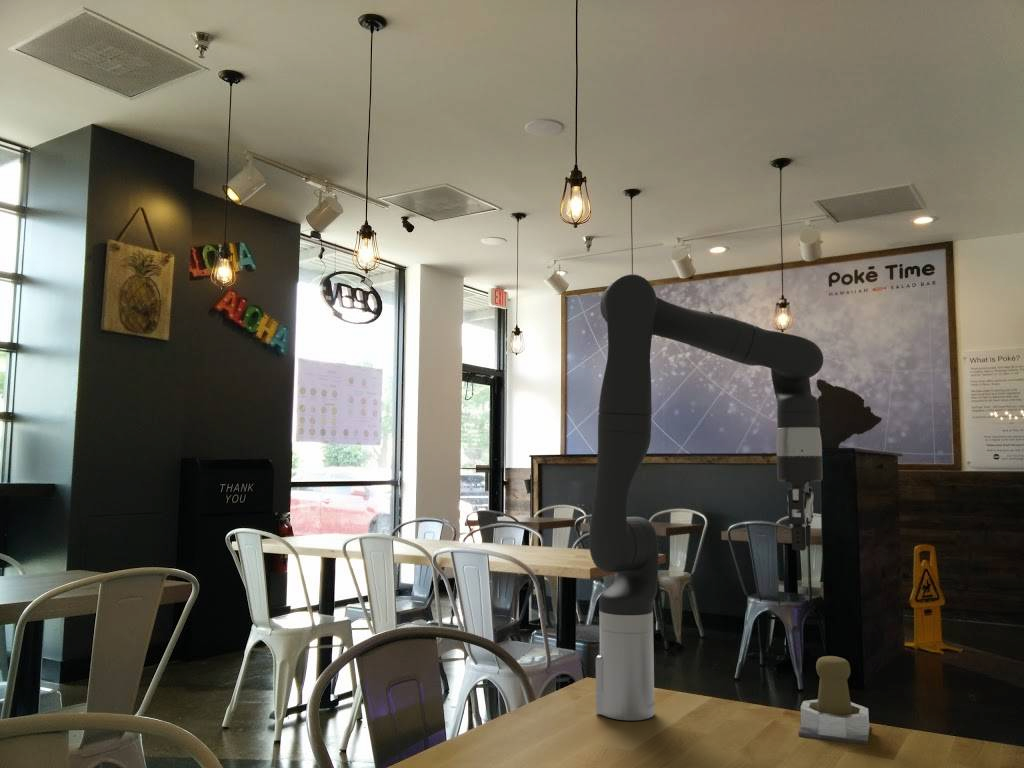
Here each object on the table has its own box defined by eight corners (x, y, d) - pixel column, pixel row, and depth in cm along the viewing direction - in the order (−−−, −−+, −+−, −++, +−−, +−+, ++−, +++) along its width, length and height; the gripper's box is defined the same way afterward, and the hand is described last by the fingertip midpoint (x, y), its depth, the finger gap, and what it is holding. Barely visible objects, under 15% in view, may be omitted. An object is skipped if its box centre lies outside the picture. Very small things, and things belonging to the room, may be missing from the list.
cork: (842, 721, 139) (840, 652, 140) (863, 732, 133) (860, 660, 134) (808, 722, 138) (805, 653, 139) (827, 734, 132) (824, 662, 133)
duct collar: (798, 736, 133) (798, 712, 134) (805, 718, 142) (804, 696, 143) (867, 745, 129) (866, 720, 129) (870, 726, 138) (869, 703, 138)
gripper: (818, 453, 140) (821, 553, 139) (825, 454, 153) (828, 545, 151) (771, 453, 143) (773, 551, 142) (782, 454, 156) (784, 543, 155)
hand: (801, 548), depth 147 cm, fingers open, 8 cm apart
